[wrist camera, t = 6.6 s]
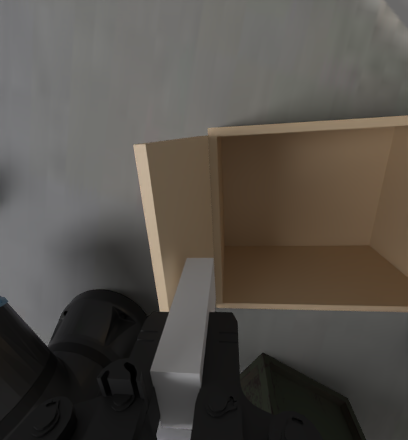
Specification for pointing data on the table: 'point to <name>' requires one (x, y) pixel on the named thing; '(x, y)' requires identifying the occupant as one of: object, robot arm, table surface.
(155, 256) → the flap
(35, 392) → the robot arm
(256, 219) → the carton
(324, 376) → the table surface
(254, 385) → the first aid box
